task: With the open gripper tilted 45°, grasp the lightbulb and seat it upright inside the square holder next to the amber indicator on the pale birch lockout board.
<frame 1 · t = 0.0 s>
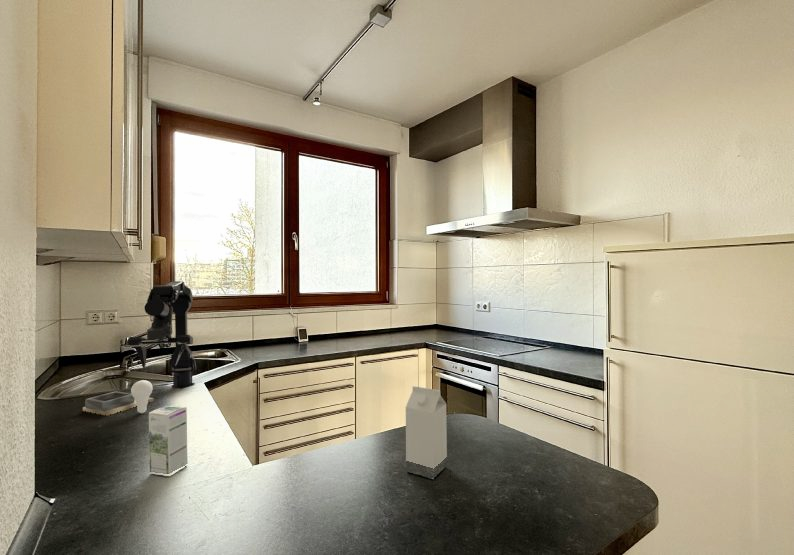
hand: (159, 366, 130), 15 cm above the countertop, tool pointing down, fingers open, 9 cm apart
milk carton: (426, 471, 90), on the countertop
syrup box: (168, 471, 91), on the countertop
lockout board: (119, 406, 138), on the countertop
lightbulb: (142, 413, 130), on the countertop
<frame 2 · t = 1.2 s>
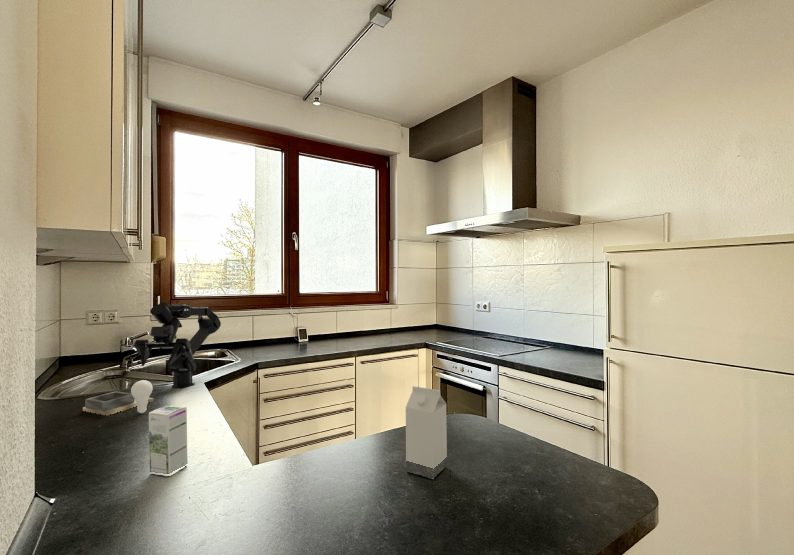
hand: (155, 364, 143), 13 cm above the countertop, tool tilted 45°, fingers open, 9 cm apart
nothing on the countertop moved.
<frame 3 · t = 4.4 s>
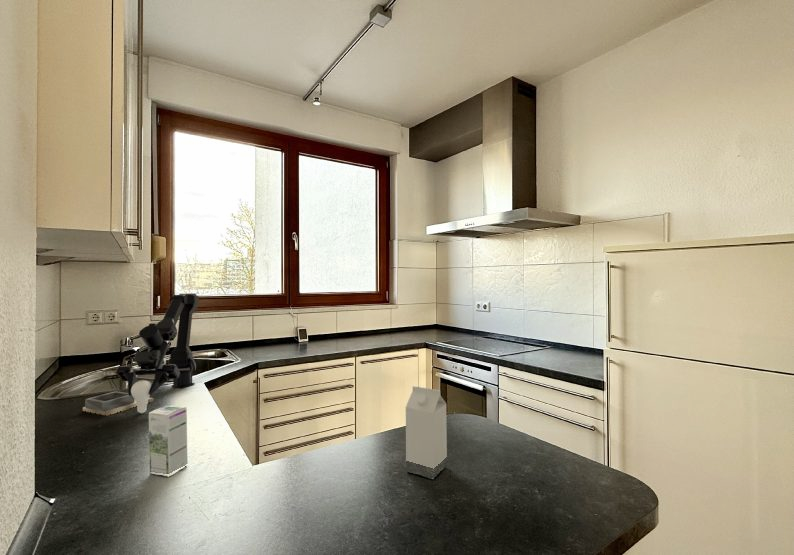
hand: (139, 394, 129), 7 cm above the countertop, tool tilted 45°, fingers closed on lightbulb, 6 cm apart
lightbulb: (142, 413, 130), on the countertop, touching gripper
everything else where it was.
when the fingers open (9 cm above the countertop, at t = 8.5 s): lightbulb moves 1 cm, resting on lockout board.
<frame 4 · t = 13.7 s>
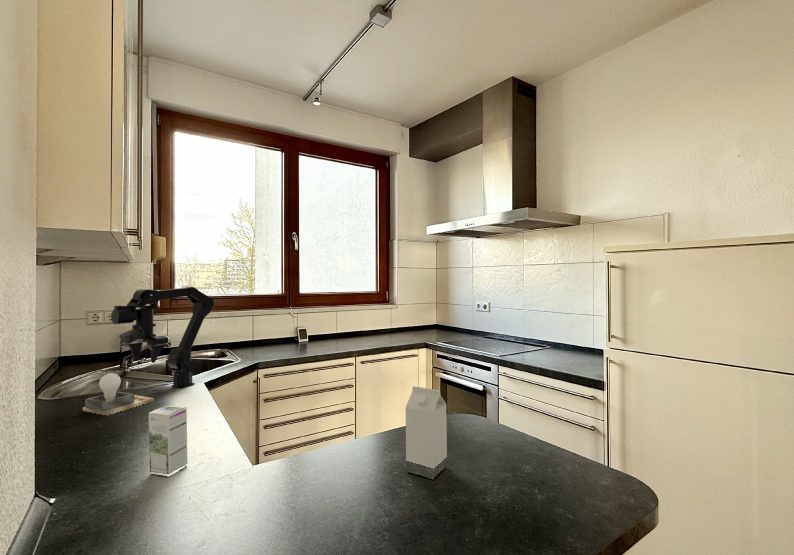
hand: (144, 361, 150), 13 cm above the countertop, tool pointing down, fingers open, 9 cm apart
lightbulb: (110, 405, 135), point 1 cm above the countertop, touching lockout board
everything else where it was.
at the end: lightbulb 0.2 cm from the target spot on the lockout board, point 1.0 cm above the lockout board's base; lightbulb tilted 1°; the gripper is holding nothing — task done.
